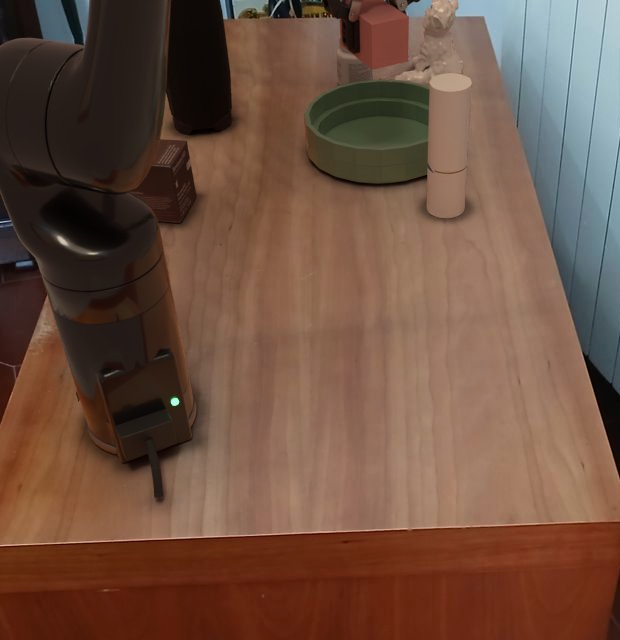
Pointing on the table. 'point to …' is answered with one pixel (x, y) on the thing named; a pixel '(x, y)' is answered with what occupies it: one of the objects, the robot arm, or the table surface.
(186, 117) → the portable speaker
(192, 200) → the box
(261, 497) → the table surface
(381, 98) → the bowl
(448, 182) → the tube
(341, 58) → the pill bottle
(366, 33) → the eraser
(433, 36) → the white creature statuette
